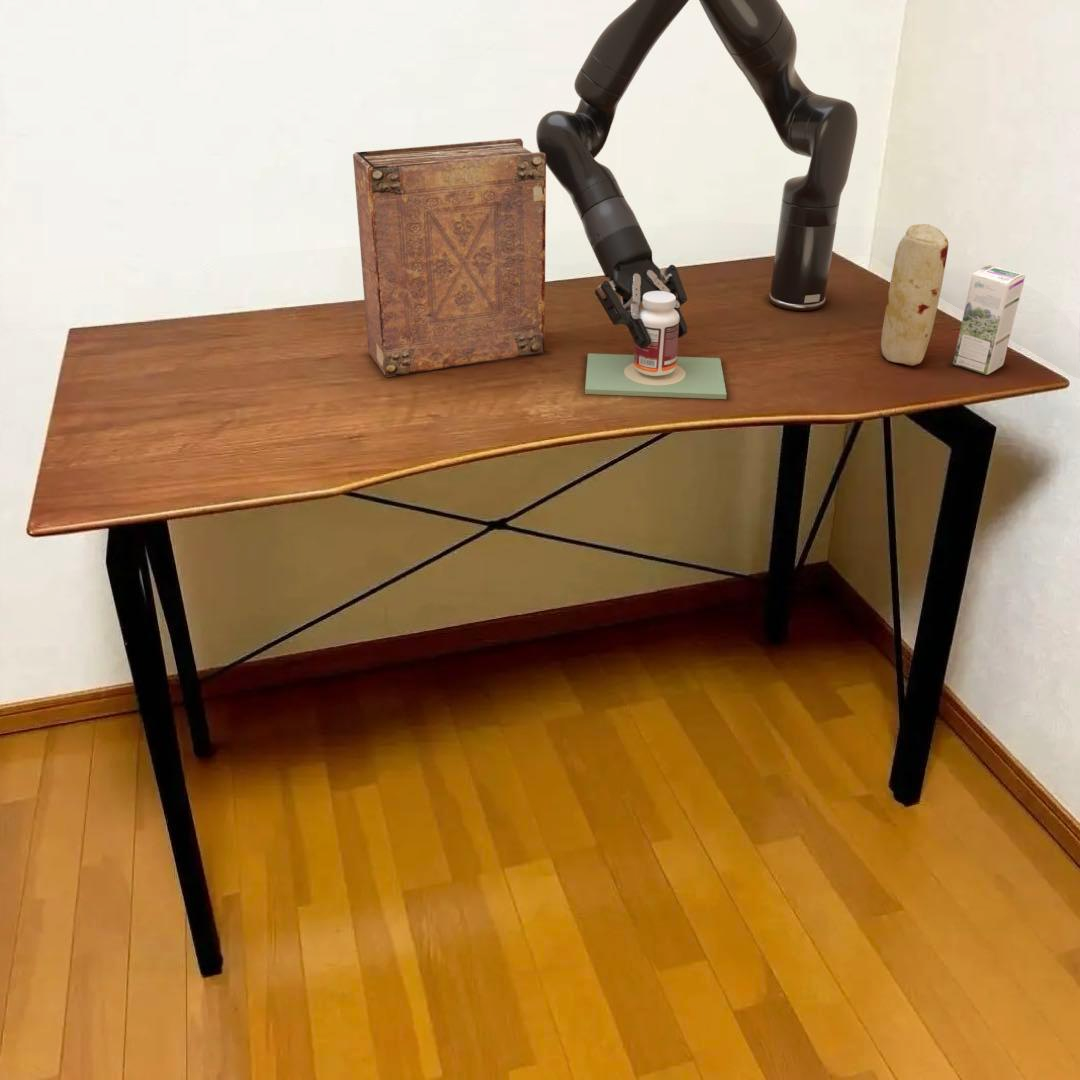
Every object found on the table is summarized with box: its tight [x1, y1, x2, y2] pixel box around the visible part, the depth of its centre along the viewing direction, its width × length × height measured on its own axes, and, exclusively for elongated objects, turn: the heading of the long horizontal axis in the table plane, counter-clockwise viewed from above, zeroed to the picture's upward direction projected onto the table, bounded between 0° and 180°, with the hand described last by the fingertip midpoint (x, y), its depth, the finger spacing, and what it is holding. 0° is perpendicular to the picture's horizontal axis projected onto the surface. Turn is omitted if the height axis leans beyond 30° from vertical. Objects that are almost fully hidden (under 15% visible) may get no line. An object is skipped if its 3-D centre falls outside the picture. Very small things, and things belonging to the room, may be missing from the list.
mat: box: [584, 353, 728, 400], centre depth 164 cm, size 13×20×1 cm, turn 86°
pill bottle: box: [633, 291, 680, 376], centre depth 160 cm, size 6×6×11 cm
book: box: [352, 137, 547, 378], centre depth 163 cm, size 25×9×30 cm, turn 112°
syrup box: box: [952, 264, 1026, 376], centre depth 165 cm, size 6×6×14 cm
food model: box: [880, 223, 950, 366], centre depth 166 cm, size 10×7×20 cm
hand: (664, 340), depth 159 cm, fingers closed on pill bottle, 6 cm apart
